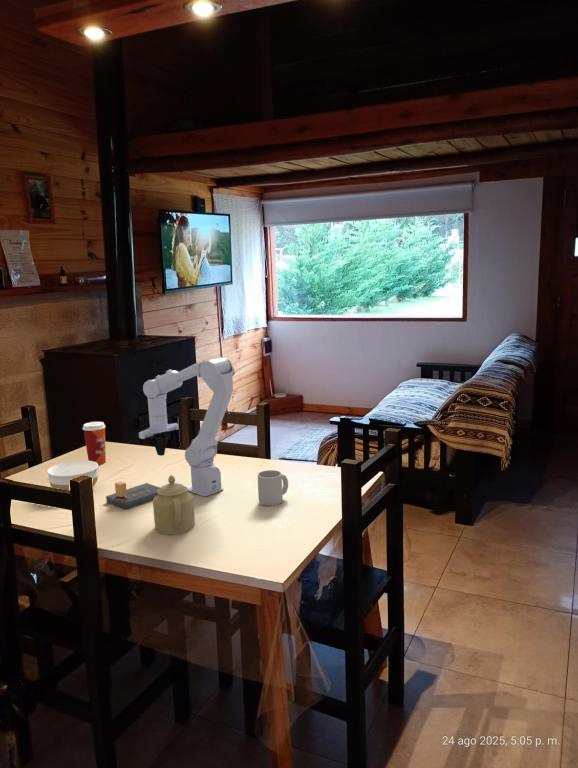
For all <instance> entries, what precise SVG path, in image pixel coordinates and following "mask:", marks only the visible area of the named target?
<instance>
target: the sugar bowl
mask: <svg viewBox="0 0 578 768" xmlns="http://www.w3.org/2000/svg"><path fill="white" fill-rule="evenodd" d="M167 481H168V483H166V484H163V485H162V486H161V487H160V489H158V490H157V493H158V496H156V497H155V498H154V499H153V500H152V507H153V518H154V519H153V520H154V528H155V531H156V532H157V533H159V534H162V535H179V534H184V533H186V532H189V531H191V530H192V529H193V528H194V527H195V525H196V522H195V521H196V519H195V517H196V516H195V504H194V496H193V494H192V492H189V491H187V490H188V488H189V487H187V486H185V485H183V484H181V483H177V482H176V478H175V476H174V475H173V474H171V475H170V476H169V477H168V480H167Z"/></svg>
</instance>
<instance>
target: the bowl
mask: <svg viewBox="0 0 578 768" xmlns="http://www.w3.org/2000/svg"><path fill="white" fill-rule="evenodd" d="M98 468H99V465H98V464H97V463H96V462H93V461H88V460H87V459H85V460H84V459H83V460H70V461H64V462H61V463H57V464H55V465H52V466H50V467H49V468H47V471H46V473H47V475H48V483H49V485H50V487H51V488H52V487H53V488H59V489H64V490H68V491H69V480H70V479H73V478H76V477H78V476H82V475H86V476H91V477H92V479H93V487H94V486H95V484H96V483H97V481H98V477H99V471H98ZM53 488H52V489H53Z"/></svg>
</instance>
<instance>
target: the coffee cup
mask: <svg viewBox="0 0 578 768" xmlns="http://www.w3.org/2000/svg"><path fill="white" fill-rule="evenodd" d="M81 429H82V430H83V435H84V442H85V447H86V453H87V461H93V462H96V463H97V464H98V466H101V465H104V464H106V462H107V461H106V459H107V456H106V424H105V423H104V421H90V422H86V423H84V424H83V426H82V428H81Z"/></svg>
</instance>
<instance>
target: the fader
mask: <svg viewBox="0 0 578 768" xmlns="http://www.w3.org/2000/svg"><path fill="white" fill-rule="evenodd" d="M114 490H115V493H116V496H119V497H124V496H127V483H126V482H124V481H121V480H120V481H116V482H114Z"/></svg>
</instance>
